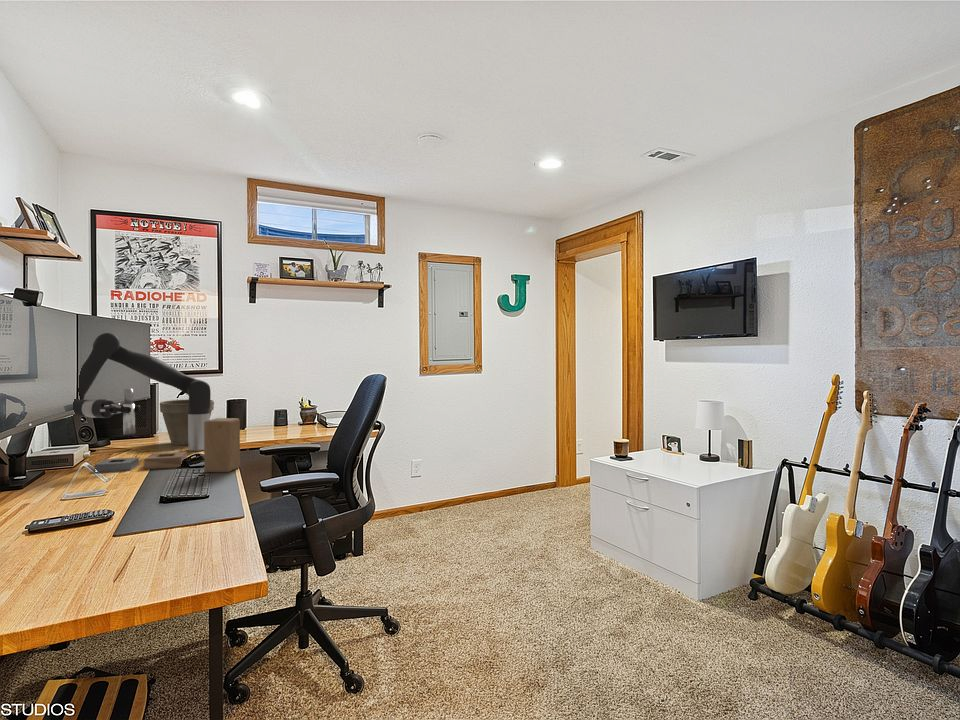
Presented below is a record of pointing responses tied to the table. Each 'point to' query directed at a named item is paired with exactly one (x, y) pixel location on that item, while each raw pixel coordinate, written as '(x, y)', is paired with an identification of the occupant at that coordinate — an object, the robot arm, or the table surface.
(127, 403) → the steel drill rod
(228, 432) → the wooden block
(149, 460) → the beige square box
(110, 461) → the grey socket
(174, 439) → the plant pot
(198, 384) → the robot arm
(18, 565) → the table surface
